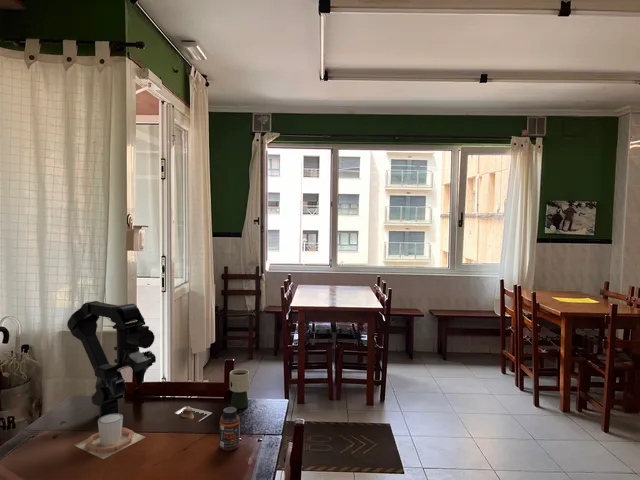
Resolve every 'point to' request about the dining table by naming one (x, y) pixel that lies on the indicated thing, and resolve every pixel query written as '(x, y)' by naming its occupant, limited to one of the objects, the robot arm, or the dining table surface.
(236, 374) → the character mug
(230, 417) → the supplement bottle
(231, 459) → the dining table surface
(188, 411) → the dessert
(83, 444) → the serving board
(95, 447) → the coaster ring
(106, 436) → the shot glass
